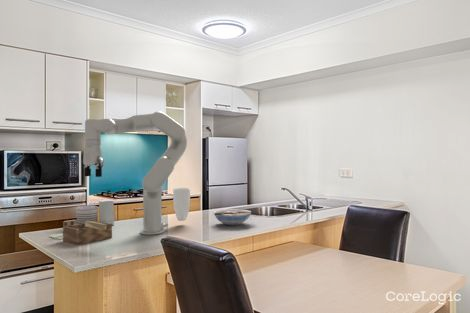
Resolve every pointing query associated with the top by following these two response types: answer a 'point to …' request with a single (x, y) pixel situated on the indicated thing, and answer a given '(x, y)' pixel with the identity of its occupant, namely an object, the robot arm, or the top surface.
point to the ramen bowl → (232, 216)
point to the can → (86, 213)
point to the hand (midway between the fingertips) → (93, 176)
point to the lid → (60, 236)
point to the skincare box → (106, 211)
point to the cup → (181, 202)
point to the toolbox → (85, 233)
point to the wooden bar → (95, 225)
